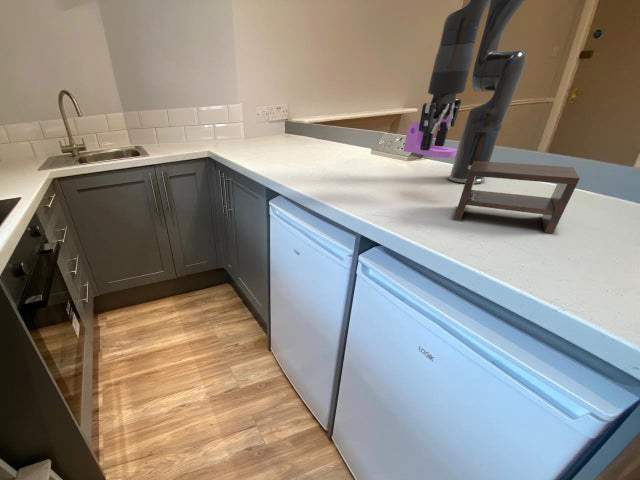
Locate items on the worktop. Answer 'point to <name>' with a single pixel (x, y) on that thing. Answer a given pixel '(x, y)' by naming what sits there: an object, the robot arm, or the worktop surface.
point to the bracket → (415, 141)
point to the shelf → (521, 203)
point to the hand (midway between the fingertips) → (431, 148)
